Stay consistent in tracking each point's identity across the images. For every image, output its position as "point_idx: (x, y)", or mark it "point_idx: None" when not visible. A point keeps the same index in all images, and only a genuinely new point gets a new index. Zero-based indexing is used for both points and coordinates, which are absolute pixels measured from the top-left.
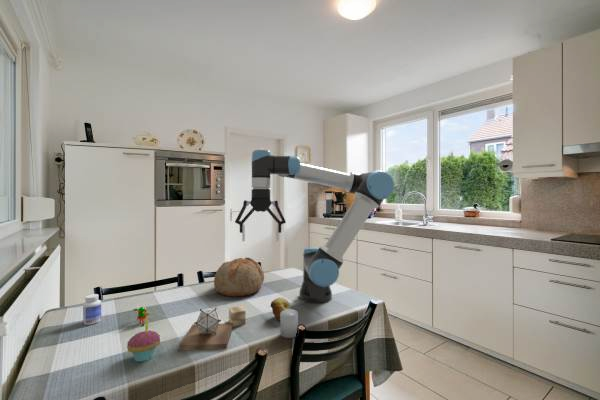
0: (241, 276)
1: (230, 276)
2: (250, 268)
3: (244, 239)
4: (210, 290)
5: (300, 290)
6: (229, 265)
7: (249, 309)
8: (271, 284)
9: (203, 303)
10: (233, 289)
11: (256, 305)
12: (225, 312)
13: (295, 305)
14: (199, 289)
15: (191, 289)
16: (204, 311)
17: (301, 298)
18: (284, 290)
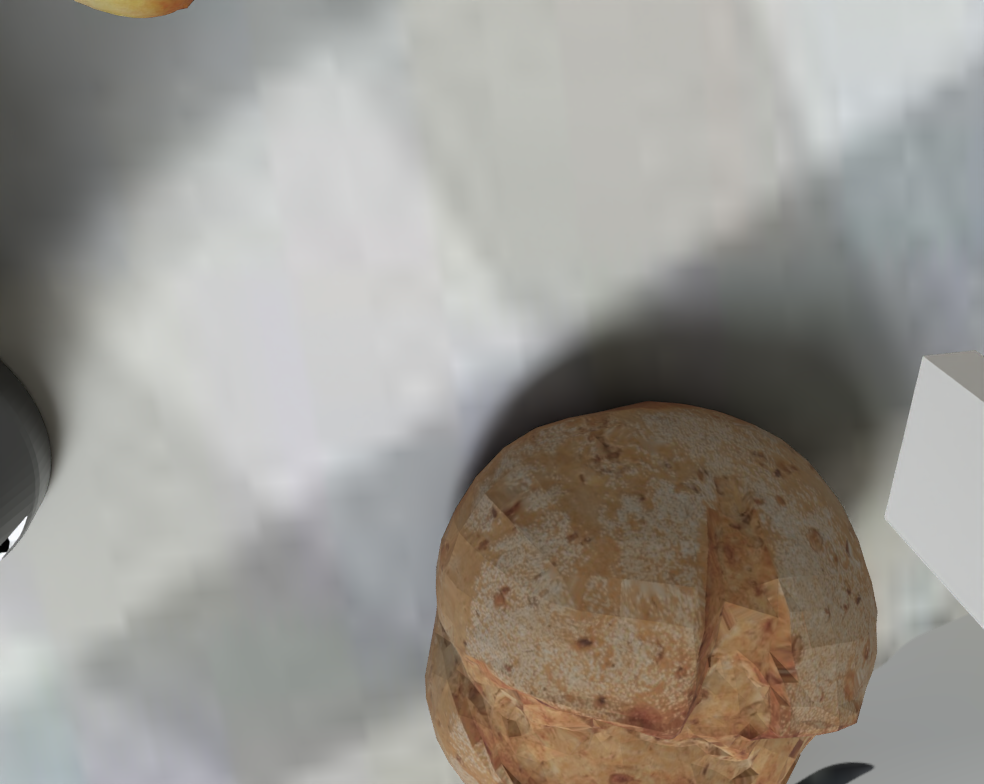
0: (638, 526)
1: (745, 527)
2: (566, 647)
3: (937, 434)
4: None
5: (8, 452)
6: (797, 657)
7: (482, 131)
8: (362, 675)
9: (882, 259)
10: (674, 419)
11: (429, 226)
12: (690, 61)
13: (43, 233)
14: None
15: None
16: None
17: (6, 374)
18: (223, 566)
